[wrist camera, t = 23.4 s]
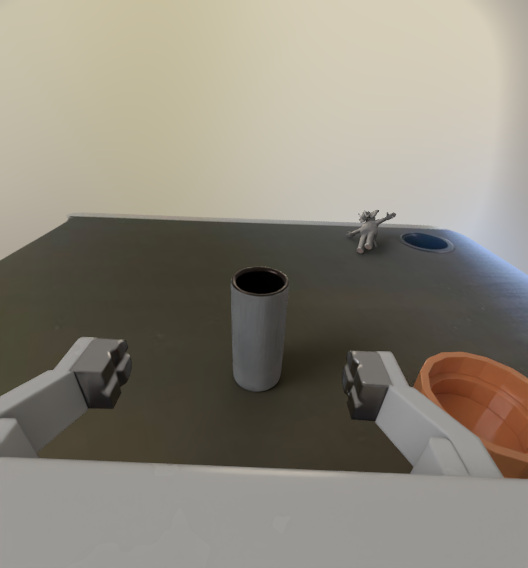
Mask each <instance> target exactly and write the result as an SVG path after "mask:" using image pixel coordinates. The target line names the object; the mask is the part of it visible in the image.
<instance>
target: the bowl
mask: <svg viewBox="0 0 528 568" xmlns="http://www.w3.org/2000/svg"><path fill="white" fill-rule="evenodd" d="M414 388H415V389H416V390H418V391H419V392H420V393H422V394H423V395H424V396H426V397H427V398H428V399H429V400H431V401H432V402H433V403H435V404H436V405H437V406H438V407H440V408H441V409H442V410H444V411H445V412H446V413H448V414H449V415H450V416H451V417H453V418H454V419H455V420H457V421H458V422H459V423H461V424H462V425H463V426H464V427H466V428H467V429H468V430H470V431H471V432H472V433H473V434H475V435H476V436H477V437H479V438H480V440H481V441H482V443H483V445H484V446H485V448H486V449H487V451H488V453H489V454H490V456H491V457H492V459H493V461H494V462H495V464H496V465H497V467H498V469H499V470H500V472H501V473H502V475H503V477H504V478H516V479H528V378H527V377H525V376H524V375H522V374H521V373H519V372H517V371H516V370H514V369H512V368H510V367H508V366H506V365H503V364H501V363H499V362H496V361H494V360H492V359H489V358H487V357H483V356H479V355H474V354H470V353H466V352H442V353H439V354H437V355H435V356H433V357H430V358H428V359H427V360H426V362H425V363H424V365H423V367H422V369H421V370H420V373H419V375H418V377H417V379H416V382H415V384H414Z"/></svg>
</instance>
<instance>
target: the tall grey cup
mask: <svg viewBox="0 0 528 568" xmlns="http://www.w3.org/2000/svg"><path fill="white" fill-rule="evenodd" d="M288 292H289V280H288V278H287V277H286V275H285V274H283V273H282V272H280V271H278V270H276V269H272V268H268V267H250V268H245V269H242V270H240V271H238V272H237V273H235V274H234V275H233V277H232V279H231V310H232V350H233V374H234V378H235V381H236V382H237V383H238V384H239V385H240V386H241V387H243V388H244V389H246V390H250V391H257V392H258V391H265V390H268V389H270V388H272V387H273V386H275V385H276V384H277V382H278V381H279V379H280V375H281V368H282V357H283V346H284V335H285V324H286V313H287V302H288Z"/></svg>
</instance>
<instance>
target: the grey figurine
mask: <svg viewBox="0 0 528 568" xmlns="http://www.w3.org/2000/svg"><path fill="white" fill-rule="evenodd" d="M378 212H379V210H375V211H374V212H371V213H370V212H365V211H364V212H363V213H362V217H361V216H360V214H358V215H359V217H360V219H359V220H360V222H361V223H362V222H364V221H365V220H366V222H365V223H364V225H362V227H361V228H359V229H358V230H356V231H354V232H350V231H348V232H349V234H347V236H348V237H352V236H354V235H355V234H357V233H360V234H361V238H360V242H359V245H358V248H357V249H356V250H357V252H359V253H361V254H362V253H364V247H365V248H366V249H368V250H371V249H372V243H374V245H375V247H376V248H377V244H376V239H375V238H376V237H377V235H378V230H377V227H378V225H379V224H381V223H382V222H384V221H386V220H389V219H391V218H393V217H395V215H396V214H395V213H392V214H388V213H387V216H386V217H385V218H383V219H378V220H375V216H376V214H377V213H378ZM366 240H367V241H366ZM365 243H366V244H365Z"/></svg>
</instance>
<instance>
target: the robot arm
mask: <svg viewBox="0 0 528 568" xmlns="http://www.w3.org/2000/svg"><path fill="white" fill-rule="evenodd" d="M127 349H128V345H127V342H126V340H123V339H109V338H91V337H81V338H79V339H78V340H77V341H76V343H75V344H74V345H73V346H72V348H71V349H70V350H69V351H68V352H67V354H66V355H65V356H64V357H63V359H62V360H61V361H60V362H59V364H58V365H57V366H56V367H55V369H54V370H48V371H46V372H44V373H43V374H41V375H39V376H37V377H35V378H33V379H32V380H30V381H28V382H26V383H24V384H22V385H21V386H19V387H17V388H15V389H13V390H11V391H10V392H8V393H6V394H4V395H2V396H0V568H528V479H516V478H504V477H503V475H502V473H501V472H500V470H499V469H498V467H497V465H496V464H495V462H494V461H493V459H492V457H491V456H490V454H489V453H488V451H487V449H486V448H485V446H484V445H483V443H482V441H481V440H480V438H479V437H477V436H476V435H475V434H473V433H472V432H471V431H470V430H468V429H467V428H466V427H464V426H463V425H462V424H461V423H459V422H458V421H457V420H455V419H454V418H453V417H451V416H450V415H449V414H448V413H446V412H445V411H444V410H442V409H441V408H440V407H438V406H437V405H436V404H435V403H433V402H432V401H431V400H429V399H428V398H427V397H426V396H424V395H423V394H422V393H420V392H419V391H418V390H416V389H415V388H414V387H409V385H408V383H407V381H406V379H405V377H404V375H403V373H402V371H401V369H400V367H399V365H398V363H397V361H396V359H395V357H394V355H393V354H392V353H391V352H386V351H356V350H349V351H348V353H347V356H346V359H347V363H348V364H347V365H345V366H344V368H343V372H342V384H343V390H344V393H345V394H346V395H347V396H348V401H347V405H348V409H349V413H350V416H351V419H353V420H366V421H375V423H376V424H377V425H378V426H379V427H380V429H381V430H382V431H383V432H384V433H385V434H386V435H387V437H388V438H389V439H390V440H391V441H392V442H393V444H394V445H395V446H396V447H397V448H398V449H399V451H400V452H401V453H402V454H403V455H404V456H405V457H406V459H407V460H408V461H409V462H410V463H411V464H412V466H413V467H414V468H413V469H412V471H411V473H410V474H399V473H375V472H352V471H328V470H304V469H279V468H255V467H231V466H208V465H184V464H161V463H138V462H114V461H90V460H67V459H43V458H40V457H39V456H38V454H37V452H39V451H40V450H41V449H42V448H43V447H44V446H46V445H47V444H48V443H49V442H50V441H52V440H53V439H54V438H55V437H56V436H58V435H59V434H60V433H61V432H62V431H64V430H65V429H66V428H67V427H68V426H70V425H71V424H72V423H73V422H74V421H76V420H77V419H78V418H79V417H80V416H81V415H83V414H84V413H85V412H86V411H87V410H88V408H100V409H113V408H114V406H115V404H116V402H117V400H118V399H119V397H120V395H121V389H120V387H121V386H122V385H124V384H125V383H127V381H128V379H129V377H130V373H131V369H132V361H131V357H130V356H129V355H128V354H127V353H126V351H127Z"/></svg>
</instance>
